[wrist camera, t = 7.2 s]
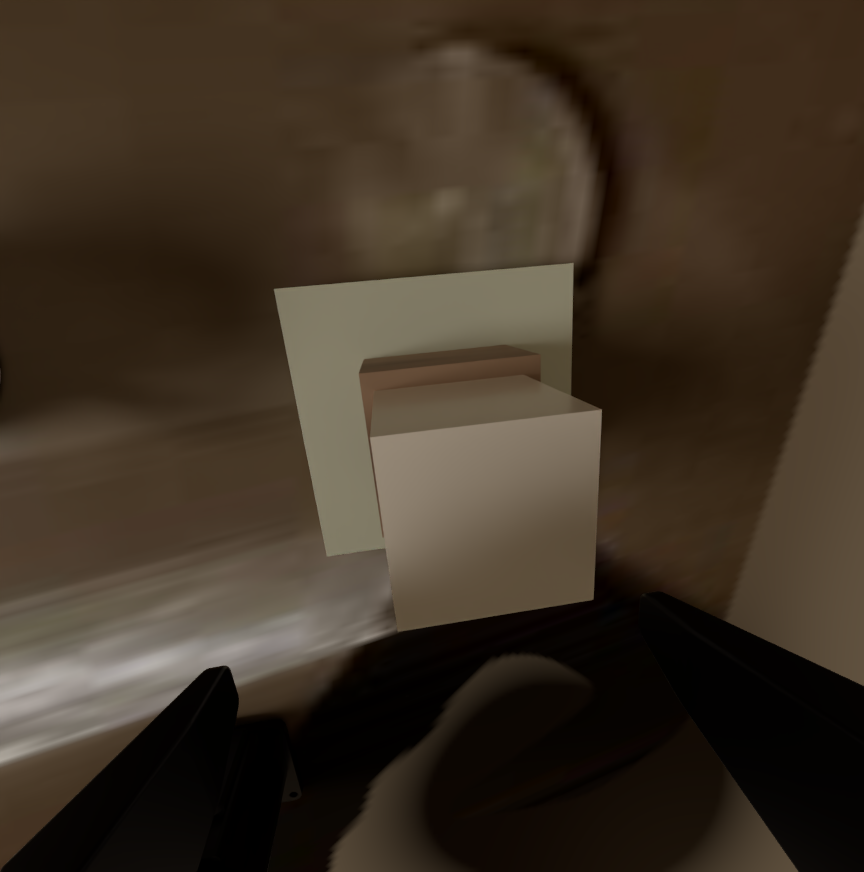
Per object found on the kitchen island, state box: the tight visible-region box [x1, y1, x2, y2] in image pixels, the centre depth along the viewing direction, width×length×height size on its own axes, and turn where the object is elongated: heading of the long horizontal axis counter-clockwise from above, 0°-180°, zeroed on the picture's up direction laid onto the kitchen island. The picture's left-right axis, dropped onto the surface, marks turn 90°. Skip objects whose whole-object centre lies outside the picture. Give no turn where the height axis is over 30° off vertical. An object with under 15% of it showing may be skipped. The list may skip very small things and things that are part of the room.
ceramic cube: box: [370, 375, 602, 632], centre depth 12 cm, size 5×5×5 cm
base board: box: [274, 263, 574, 556], centre depth 19 cm, size 12×12×2 cm
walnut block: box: [359, 345, 541, 538], centre depth 16 cm, size 6×6×4 cm
